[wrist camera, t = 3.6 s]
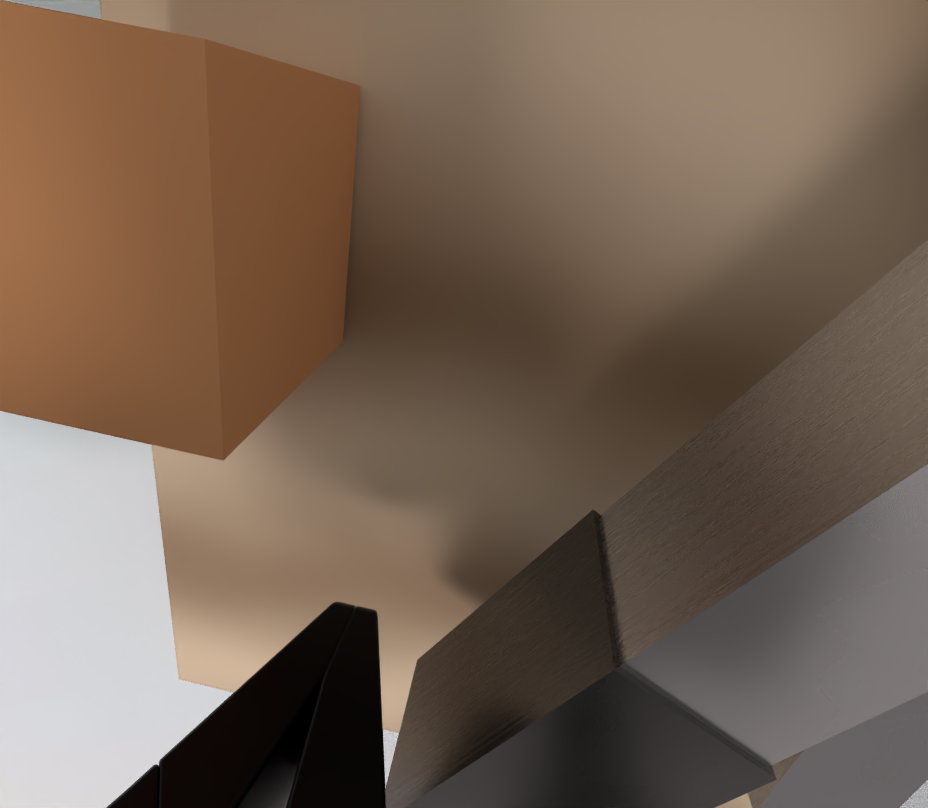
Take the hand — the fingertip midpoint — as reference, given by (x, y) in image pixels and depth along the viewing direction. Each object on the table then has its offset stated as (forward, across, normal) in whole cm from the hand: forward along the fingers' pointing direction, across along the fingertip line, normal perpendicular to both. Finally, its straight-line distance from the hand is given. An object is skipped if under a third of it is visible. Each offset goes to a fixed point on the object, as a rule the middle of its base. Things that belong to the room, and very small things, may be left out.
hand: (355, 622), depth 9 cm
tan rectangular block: (+2, +3, -6) cm, 7 cm away
